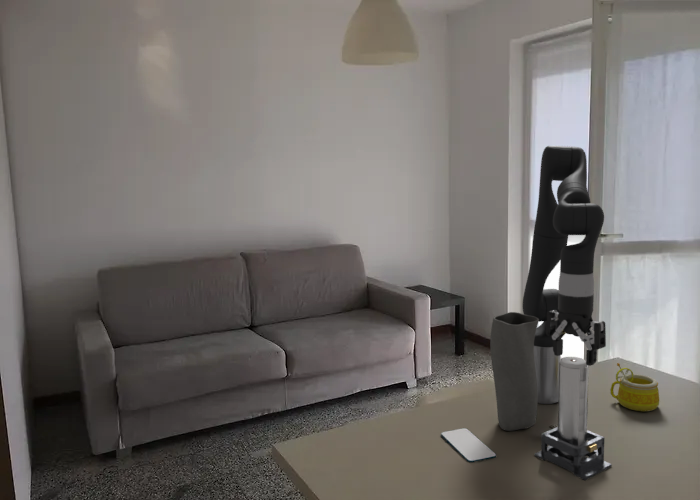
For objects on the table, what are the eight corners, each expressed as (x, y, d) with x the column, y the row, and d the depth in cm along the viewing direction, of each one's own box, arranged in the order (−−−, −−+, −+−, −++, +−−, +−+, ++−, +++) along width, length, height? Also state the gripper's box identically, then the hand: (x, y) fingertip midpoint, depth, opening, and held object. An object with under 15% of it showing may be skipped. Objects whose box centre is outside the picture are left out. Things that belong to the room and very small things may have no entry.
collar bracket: (534, 455, 144) (534, 430, 143) (560, 443, 150) (560, 419, 149) (585, 480, 133) (585, 453, 132) (611, 466, 138) (612, 440, 137)
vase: (507, 439, 153) (508, 326, 149) (482, 420, 165) (482, 315, 160) (547, 431, 157) (549, 321, 152) (520, 413, 169) (521, 310, 164)
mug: (660, 402, 172) (662, 362, 170) (656, 417, 163) (658, 375, 161) (613, 394, 179) (614, 356, 177) (606, 407, 170) (608, 367, 168)
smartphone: (498, 459, 145) (466, 430, 160) (498, 455, 144) (466, 427, 159) (468, 465, 142) (439, 435, 157) (468, 461, 142) (439, 432, 157)
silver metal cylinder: (559, 466, 139) (561, 364, 135) (555, 453, 145) (557, 355, 141) (588, 468, 138) (591, 365, 134) (583, 455, 144) (586, 356, 140)
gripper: (614, 294, 131) (611, 364, 134) (560, 283, 143) (558, 348, 145) (593, 299, 127) (591, 372, 130) (539, 288, 139) (538, 355, 141)
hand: (573, 359), depth 137 cm, fingers open, 8 cm apart
